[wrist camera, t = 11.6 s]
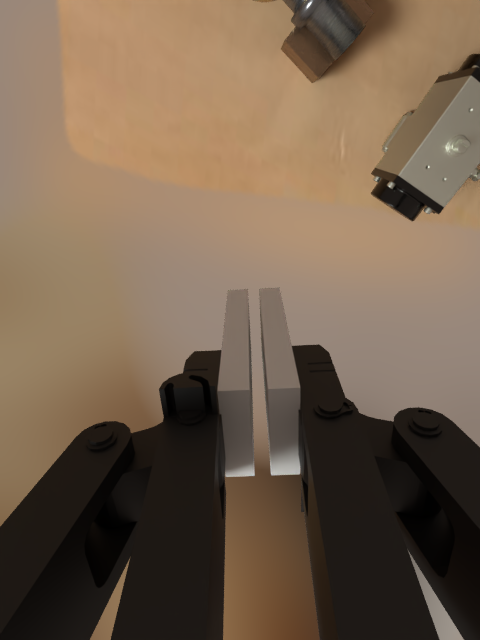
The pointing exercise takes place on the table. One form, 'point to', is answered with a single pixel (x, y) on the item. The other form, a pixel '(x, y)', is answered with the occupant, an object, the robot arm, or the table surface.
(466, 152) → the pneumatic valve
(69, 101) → the table surface
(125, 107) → the table surface
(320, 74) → the valve stand
